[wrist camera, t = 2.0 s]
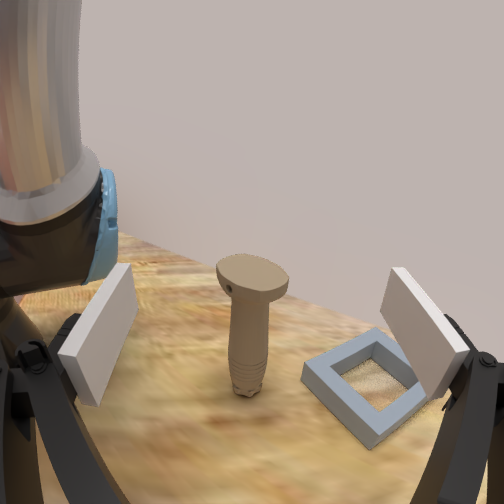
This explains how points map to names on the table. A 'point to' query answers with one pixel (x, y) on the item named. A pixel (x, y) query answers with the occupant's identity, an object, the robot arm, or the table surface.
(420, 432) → the table surface
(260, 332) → the handle
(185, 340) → the table surface
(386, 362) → the socket block
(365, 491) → the table surface
